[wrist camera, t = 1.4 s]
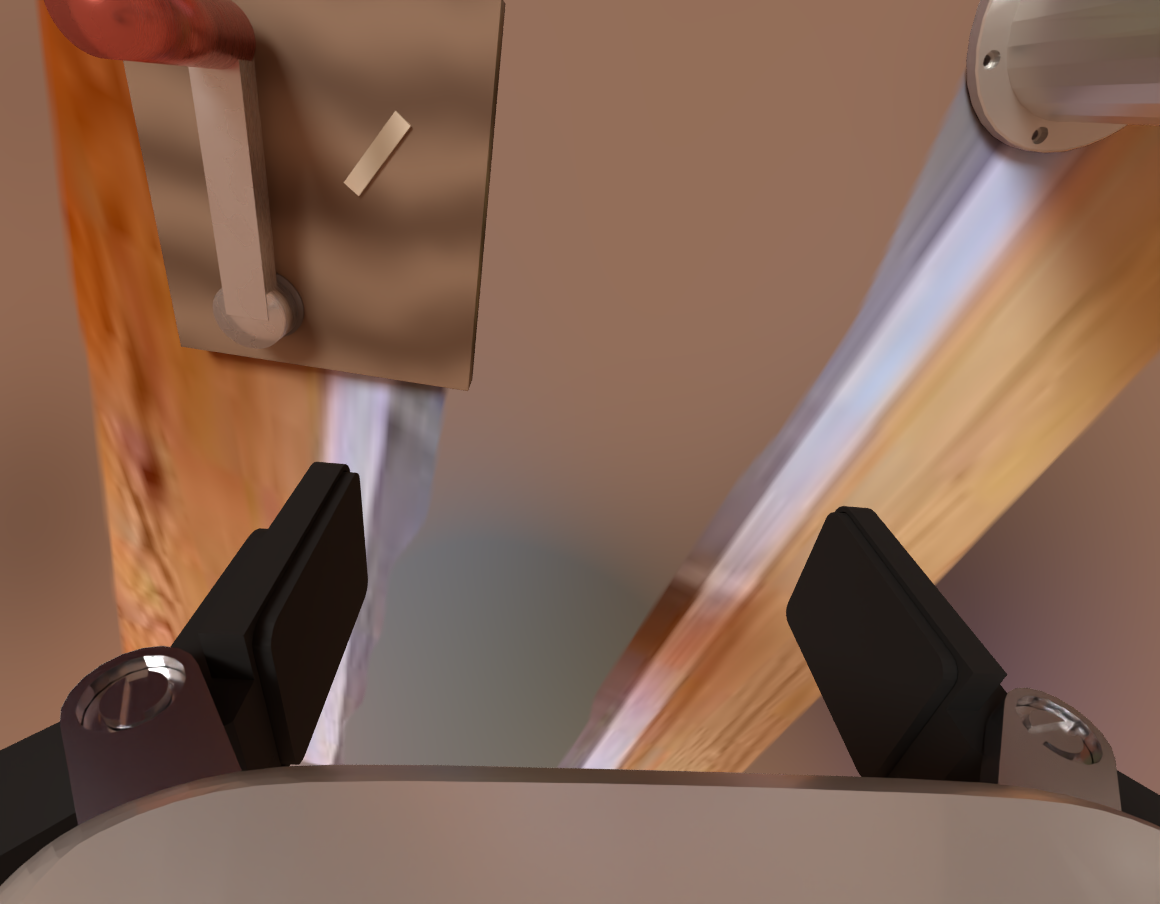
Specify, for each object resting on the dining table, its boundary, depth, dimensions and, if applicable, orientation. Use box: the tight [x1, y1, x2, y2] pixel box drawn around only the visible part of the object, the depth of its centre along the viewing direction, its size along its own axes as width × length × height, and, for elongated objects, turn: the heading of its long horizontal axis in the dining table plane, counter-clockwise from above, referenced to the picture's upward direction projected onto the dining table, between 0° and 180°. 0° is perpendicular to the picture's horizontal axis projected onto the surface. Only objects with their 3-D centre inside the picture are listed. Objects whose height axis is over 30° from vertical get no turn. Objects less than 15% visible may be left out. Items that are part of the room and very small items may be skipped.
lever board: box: [123, 0, 505, 391], centre depth 33 cm, size 22×19×2 cm
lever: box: [44, 0, 298, 349], centre depth 28 cm, size 18×4×10 cm, turn 170°
